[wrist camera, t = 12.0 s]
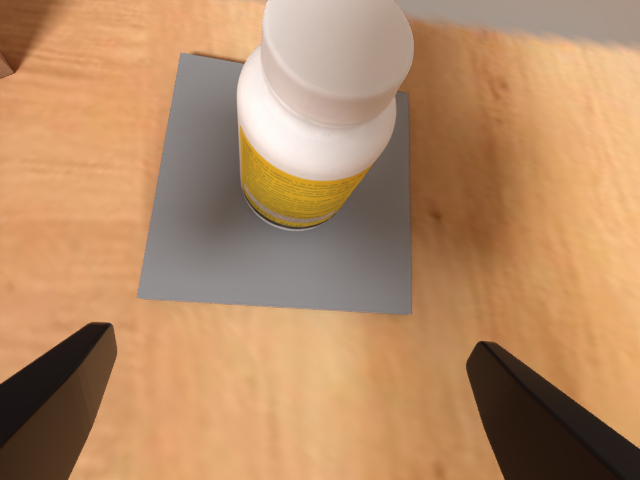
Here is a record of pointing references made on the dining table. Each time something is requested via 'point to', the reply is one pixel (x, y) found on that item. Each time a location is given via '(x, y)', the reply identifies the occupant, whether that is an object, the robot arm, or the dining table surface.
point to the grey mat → (255, 234)
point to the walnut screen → (4, 67)
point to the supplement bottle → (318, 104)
